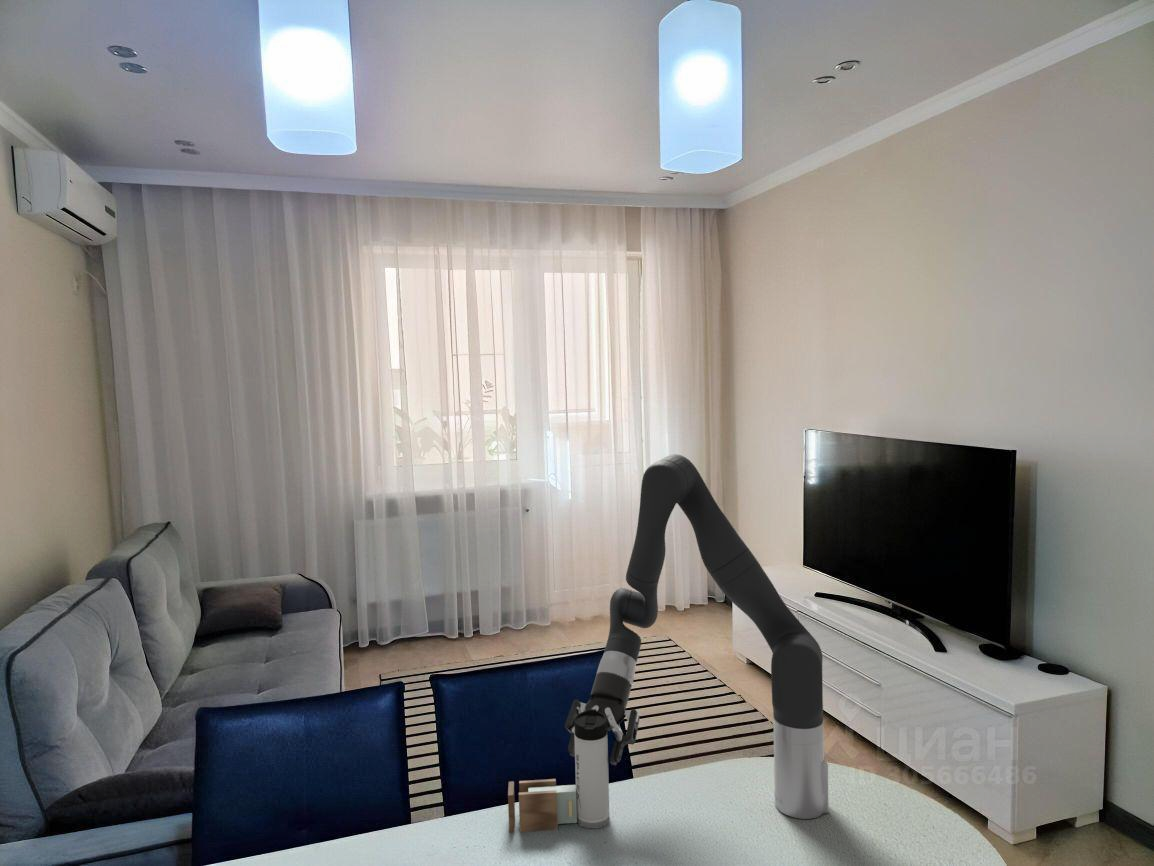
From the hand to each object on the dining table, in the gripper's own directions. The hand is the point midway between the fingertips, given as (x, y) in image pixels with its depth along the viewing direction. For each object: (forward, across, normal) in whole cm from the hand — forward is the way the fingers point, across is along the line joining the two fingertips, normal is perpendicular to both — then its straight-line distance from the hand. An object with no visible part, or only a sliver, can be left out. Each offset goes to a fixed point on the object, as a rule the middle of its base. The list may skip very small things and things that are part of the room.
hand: (592, 759), depth 139 cm
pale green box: (+11, -6, +5) cm, 14 cm away
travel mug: (+8, 0, +8) cm, 11 cm away
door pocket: (+12, -9, +4) cm, 16 cm away
